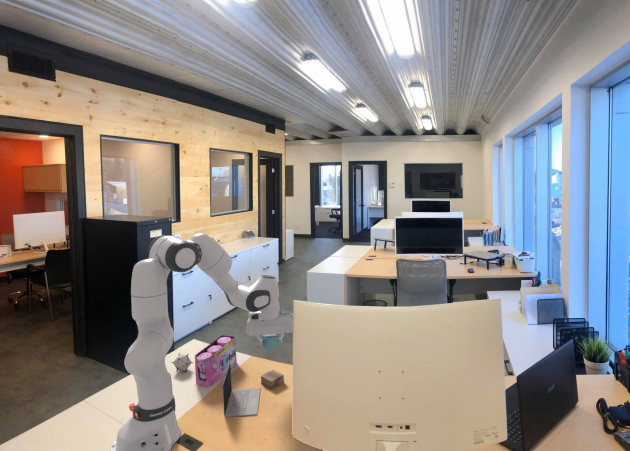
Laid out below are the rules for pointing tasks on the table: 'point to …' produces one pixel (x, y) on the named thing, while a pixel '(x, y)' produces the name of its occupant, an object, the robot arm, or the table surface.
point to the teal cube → (270, 341)
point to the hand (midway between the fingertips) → (270, 343)
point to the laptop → (239, 399)
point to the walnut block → (272, 379)
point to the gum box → (215, 360)
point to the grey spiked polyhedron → (182, 362)
